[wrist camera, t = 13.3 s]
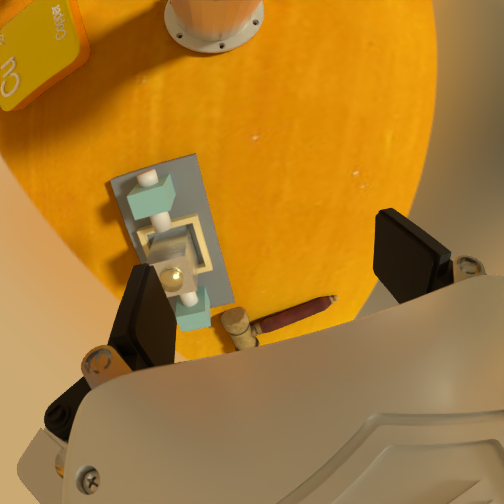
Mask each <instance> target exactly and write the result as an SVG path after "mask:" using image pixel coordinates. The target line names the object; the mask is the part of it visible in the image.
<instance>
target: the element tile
mask: <svg viewBox="0 0 504 504" xmlns="http://www.w3.org/2000/svg"><path fill="white" fill-rule="evenodd" d="M90 55H91V47H90V44H89V41H88V37H87V34H86V31H85V27H84V24H83V21H82V17H81V14H80V10H79V6H78V3H77V0H35V1H33V2H32V3H31V4H30V5H28V6H27V7H26V8H25V9H23V10H22V11H21V12H20V13H19V14H17V15H16V16H15V17H14V18H13V19H12V20H10V21H9V22H8V23H7V24H6V25H5V26H4V27H3V28H2V29H1V30H0V106H1V108H2V110H3V111H6V112H8V111H14V110H21V109H24V108H26V107H27V106H28V105H29V104H30V103H32V102H33V101H34V100H35V99H37V98H38V97H39V96H40V95H42V94H43V93H44V92H46V91H47V90H48V89H50V88H51V87H52V86H54V85H55V84H56V83H58V82H59V81H61V80H62V79H64V78H65V77H67V76H68V75H70V74H71V73H73V72H74V71H76V70H77V69H79V68H80V67H82V66H83V65H84V64H85V63H86V62H87V61H88V59H89V57H90Z"/></svg>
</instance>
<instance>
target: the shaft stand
mask: <svg viewBox="0 0 504 504" xmlns="http://www.w3.org/2000/svg"><path fill="white" fill-rule="evenodd" d="M110 182H111V185H112V188H113V191H114V194H115V197H116V200H117V203H118V206H119V209H120V211H121V214H122V217H123V220H124V222H125V225H126V228H127V230H128V233H129V235H130V238H131V240H132V243H133V245H134V248H135V250H136V253H137V255H138V258H139V260H140V262H141V264H144V263H146V260H147V257H148V254H149V251H150V248H151V245H152V243H153V240H154V237H155V236H156V235H160V234H164V233H168V232H172V231H176V230H180V229H184V228H188V227H189V230H190V234H191V237H192V240H193V244H194V247H195V250H196V253H197V256H198V277H197V291H194V292H190V293H185V294H181V295H176V296H171V297H167V298H168V300H169V303H170V305H171V307H172V309H173V311H174V314H175V316H176V320H177V322H178V324H179V326H180V328H181V331H182V332H185V331H190V330H195V329H200V328H205V327H210V326H211V317H210V308H212V307H217V306H221V305H226V304H230V303H235V301H234V296H233V292H232V289H231V285H230V282H229V278H228V274H227V271H226V267H225V264H224V260H223V256H222V253H221V249H220V245H219V242H218V238H217V234H216V230H215V226H214V223H213V219H212V215H211V211H210V207H209V203H208V200H207V196H206V192H205V188H204V184H203V180H202V176H201V172H200V168H199V163H198V159H197V155H196V153H194V154H190V155H187V156H183V157H179V158H175V159H172V160H168V161H165V162H161V163H158V164H154V165H151V166H148V167H145V168H141V169H138V170H135V171H132V172H129V173H126V174H123V175H120V176H117V177H114V178H113V179H111V180H110Z"/></svg>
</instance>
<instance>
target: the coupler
mask: <svg viewBox="0 0 504 504" xmlns="http://www.w3.org/2000/svg"><path fill="white" fill-rule="evenodd" d="M146 263H148V264H149V265H150V266H151V265H153V266H154V268H155V270H156V272H157V275H158V277H159V280H160V282H161V284H162V287H163V289H164V291H165V293H166V296H167V297H171V296H176V295H181V294H185V293H190V292H194V291H197V277H198V256H197V253H196V250H195V247H194V244H193V240H192V237H191V234H190V230H189V227H188V228H184V229H180V230H176V231H172V232H168V233H164V234H160V235H156V236H155V237H154V240H153V243H152V245H151V248H150V251H149V254H148V257H147V260H146Z"/></svg>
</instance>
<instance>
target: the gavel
mask: <svg viewBox="0 0 504 504" xmlns="http://www.w3.org/2000/svg"><path fill="white" fill-rule="evenodd" d="M337 300H338V296H337V295H335V296H333V297H331V296H328V297H319V298H317V299H314V300H312V301H309V302H307V303H304V304H302V305H299V306H297V307H294V308H292V309H289V310H287V311H284V312H282V313H279V314H276V315H274V316H271V317H269V318H266V319H264V320H262V321H260V322H258V323H256V324H255V325H253V324H252V325H250V324H249V317H248V315H247V313H246V311H245V309H244V308H242V307H235V308H232V309H229V310H226V311H225V312H224V313H223V314H222V316H221V319H220V321H221V323H222V325H223V327H224V329H225V330H226V331H227V332H228V333H229V335H230V337H231V339H232V341H233V342H234V344H235V349H236V351H241V350H245V349H250V348H254V347H258V346H261V345H260V343H259V341H258V339H257V338H256V337H255V336H257V334H259V335H260V334H263V333H268V332H271V331H274V330H276V329H279V328H282V327H284V326H287V325H289V324H292V323H294V322H297V321H300V320H302V319H304V318H307V317H309V316H312V315H314V314H317V313H319V312H321V311H324V310H326V309H327V308H328V307H329V306H330V305H331V304H333V302H334V301H337Z"/></svg>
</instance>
